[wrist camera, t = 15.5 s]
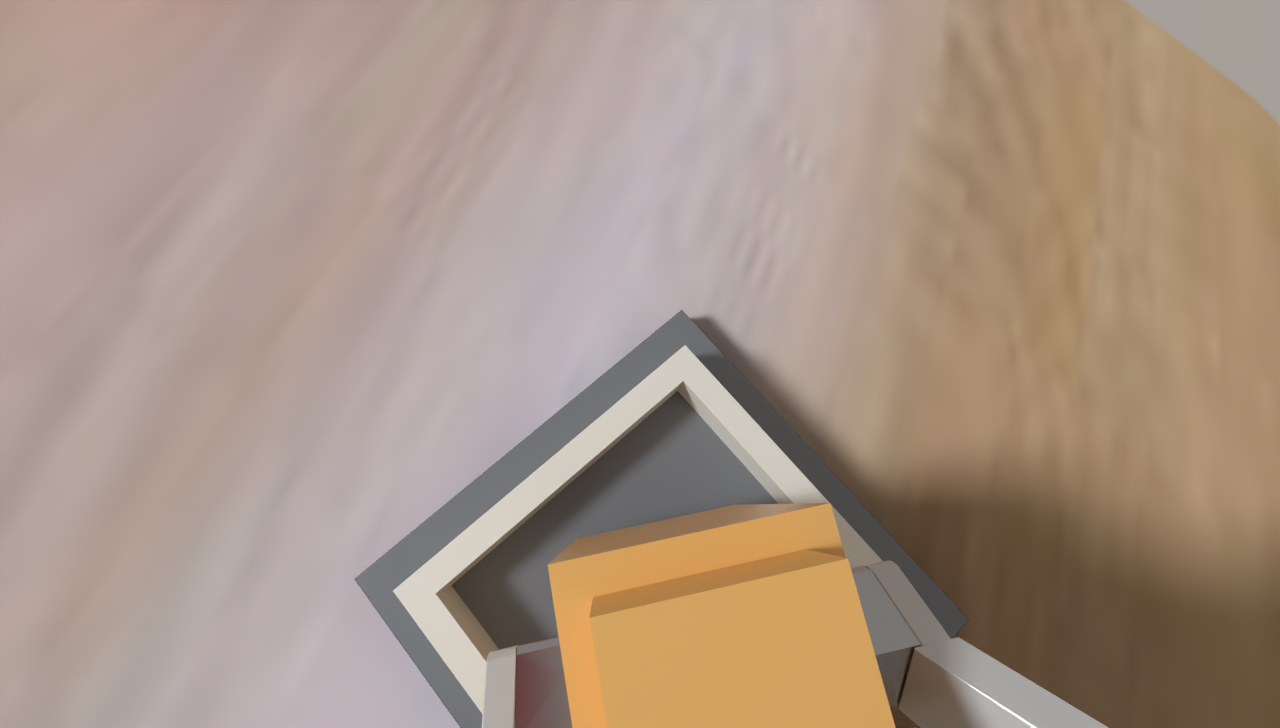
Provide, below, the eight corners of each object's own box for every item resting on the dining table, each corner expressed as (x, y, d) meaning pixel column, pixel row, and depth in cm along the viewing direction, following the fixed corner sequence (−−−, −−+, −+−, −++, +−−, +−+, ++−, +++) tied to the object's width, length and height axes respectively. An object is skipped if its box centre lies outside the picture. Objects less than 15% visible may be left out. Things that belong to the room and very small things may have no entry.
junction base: (949, 613, 17) (1003, 630, 15) (644, 956, 15) (650, 1043, 12) (678, 319, 20) (687, 292, 17) (369, 574, 17) (328, 586, 14)
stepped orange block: (776, 679, 14) (1000, 912, 6) (606, 722, 14) (599, 1037, 6) (735, 504, 16) (877, 501, 7) (575, 538, 15) (532, 578, 7)
